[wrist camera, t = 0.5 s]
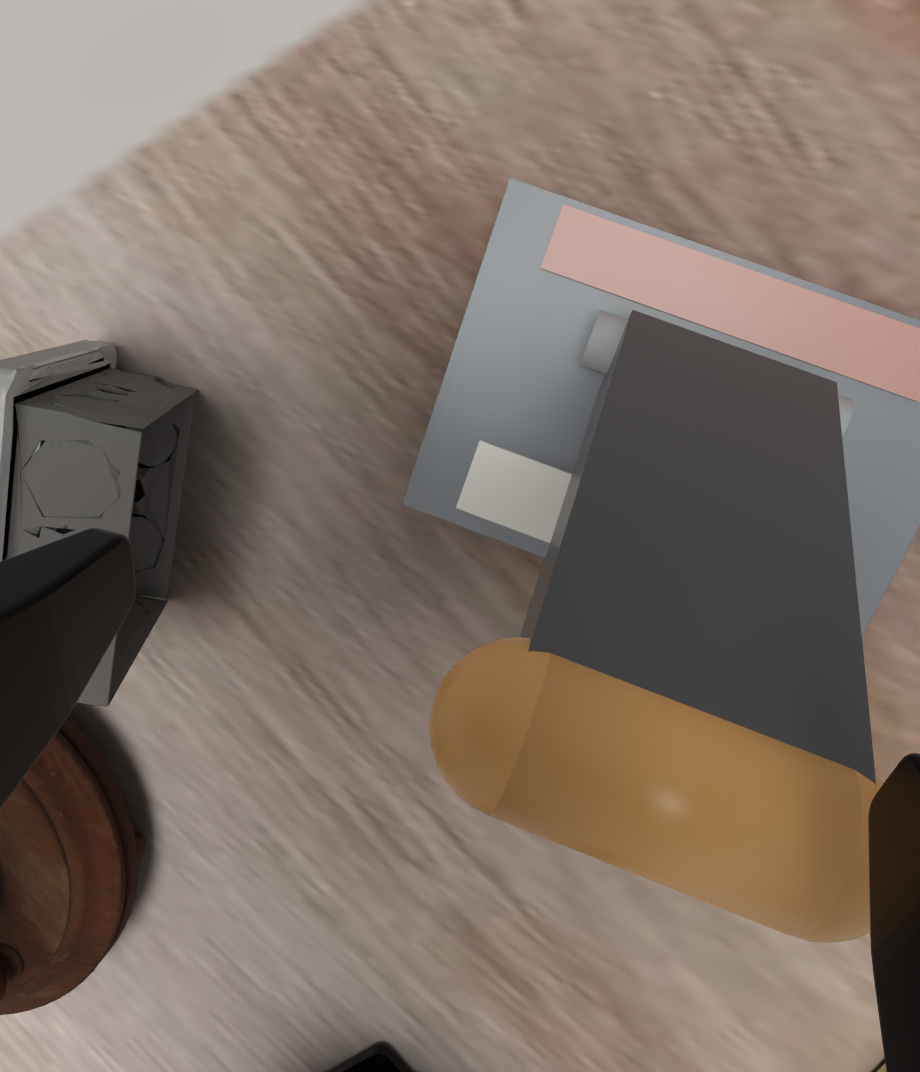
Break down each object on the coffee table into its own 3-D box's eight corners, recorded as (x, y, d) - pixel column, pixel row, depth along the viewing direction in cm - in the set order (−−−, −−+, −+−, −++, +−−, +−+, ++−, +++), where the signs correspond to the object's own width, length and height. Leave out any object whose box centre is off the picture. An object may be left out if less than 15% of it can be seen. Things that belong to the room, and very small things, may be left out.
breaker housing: (809, 626, 26) (845, 673, 22) (425, 482, 26) (400, 505, 23) (949, 349, 23) (1015, 352, 20) (520, 200, 24) (509, 176, 20)
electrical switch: (96, 335, 27) (-110, 346, 18) (248, 372, 27) (118, 401, 18) (69, 594, 29) (-123, 716, 21) (207, 627, 30) (76, 764, 21)
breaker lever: (820, 454, 21) (853, 998, 11) (567, 363, 22) (390, 812, 12) (876, 371, 19) (973, 933, 10) (600, 274, 20) (423, 717, 10)
